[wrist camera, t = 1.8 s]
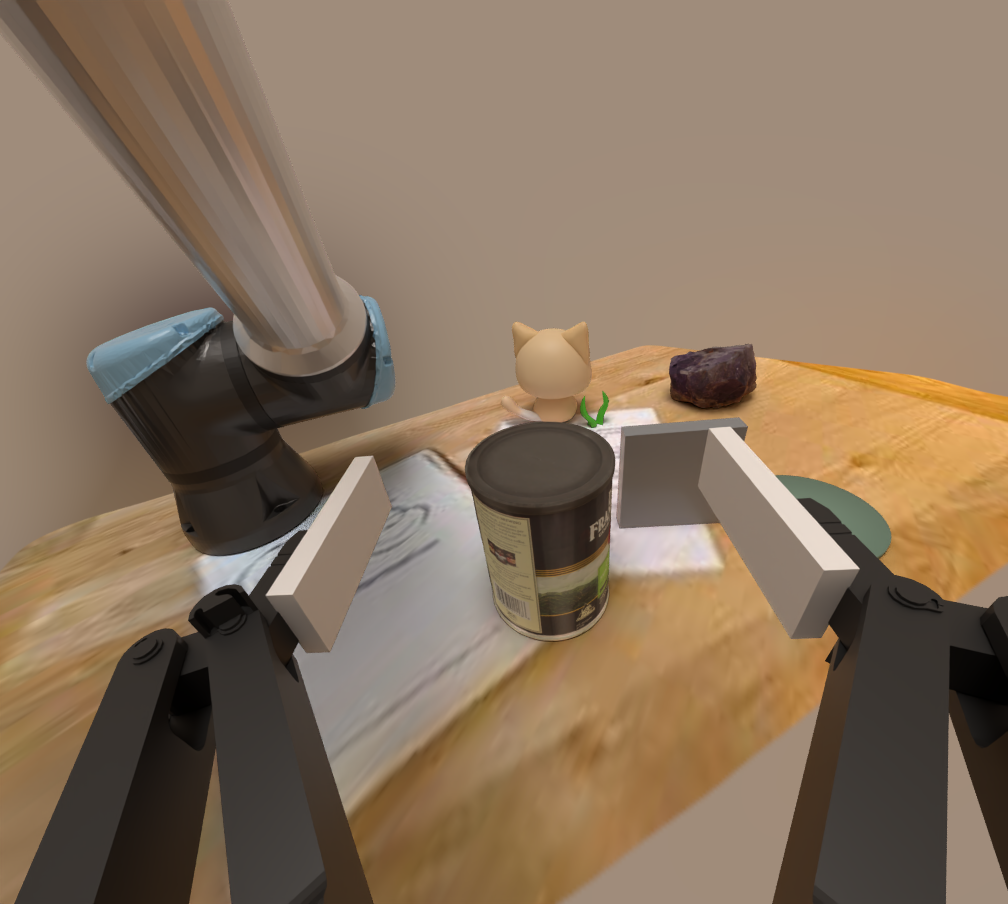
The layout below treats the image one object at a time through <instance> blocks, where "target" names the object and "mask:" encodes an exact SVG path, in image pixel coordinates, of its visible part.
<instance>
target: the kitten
mask: <svg viewBox="0 0 1008 904" xmlns="http://www.w3.org/2000/svg"><path fill="white" fill-rule="evenodd" d="M512 333H513V339H514V352H515V357H516V377H517V380H518V383H519V385H520V386H521V388H522V389H523V390H524V391H526V392H527V393H528V394H530V395H532V396H535V397H537V398H536V400H535V403H534V407H533V411H530V410H526V409H523V408H521V407H519V406H518V405H517V404H516V402H515V401H514V400H513V399H512V398H511V397H509V396H504V397H503V398H502V399H501V405H502V406H503V408H504V409H505V410H507V411H508V412H510V413H512V414H515V415H517V416H519V417H522V418H524V419H527V420H531V421H544V422H565V421H568V420H570V419H571V418H572V417H573V416H574V415H575V413H576V410H577V402H576V400H575V398H574V397H573V395H576V394H579V393H581V392H582V391H584V390H585V389H586V388H587V387H588V385H589V384H590V381H591V376H592V370H591V363H590V358H589V357H590V351H589V334H588V327H587V324H586V323H585V322H581V323H579V324H577V325H576V326H574V327H572V328H570V329H568V330H562V329H556V328H555V329H553V328H551V329H544V330H541V331H538V332H537V331H536V330H534V329H532V328H530V327H527V326H526V325H524V324H522V323H520V322H515V323H514V324H513V326H512ZM602 392H603V391H602ZM603 400H604V403H603V405H602V406H601V407H600V409H599V411H598V414H597V418H596V421H595V420H594V419H593V418H591V417H590V416H589V415H588V413H587V411H586V407H585V396H584V398H583V399H582V402H581V406H580V413H581V415H582V416H583V417H584V418H585V419H586V420H587V421H588V425H590V426H591V428H593V427H596V426H597V424H600V425H603V417H604V414H605V411H606V409H607V407H608V403H609V400H608V397H607V395H606V394H605V393H604V392H603Z"/></svg>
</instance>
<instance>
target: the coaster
mask: <svg viewBox="0 0 1008 904" xmlns="http://www.w3.org/2000/svg"><path fill="white" fill-rule="evenodd" d="M775 476H776V477H777V478H778V480H779V481H780V482H781V483H782V484H783V485H784V486H785V487H786V488H787V489H788V491H789V492H790V493H791V494H792V495H793V496H794V497H795V498H796V499H799V498H812V499H813V500H815V501H817V502H818V503H820V504H822V505H824V506H825V507H827V508H829V509H830V510H831V511H832V512H833V513H834V514H835V515H836V516H837V517H838V518H839V519H840V520H841V523H842V524H844V525H845V526H846V527H847V528H848V529H849V530H850V531H851V532H852V535H855V536H856V537H857V538H858V539H859V540H860V541H861V542H862V543H863V544H864V545H865V546H866V547H867V548H868V549H869V550H870V551H871V552H872V553H873V554H874V555H875V556H876V557H877V558H878V559H879V558H880V557H881V556H882V555H883V554H884V553H885V552H886V550H887V548H888V547H889V545H890V542H891V532H890V529H889V526H888V524H887V523H886V521H885V520H884V518H883V517H882V516H881V515H880V514H879V513H878V512H877V511H876V510H875V509H874V508H873V507H872V506H870V505H869V504H868V503H866V502H865V501H864V500H862V499H861V498H859V497H857V496H855V495H854V494H852V493H850V492H848V491H846V490H844V489H841V488H839V487H836V486H834V485H831V484H828V483H825V482H822V481H818V480H814V479H810V478H804V477H798V476H788V475H775Z"/></svg>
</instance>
